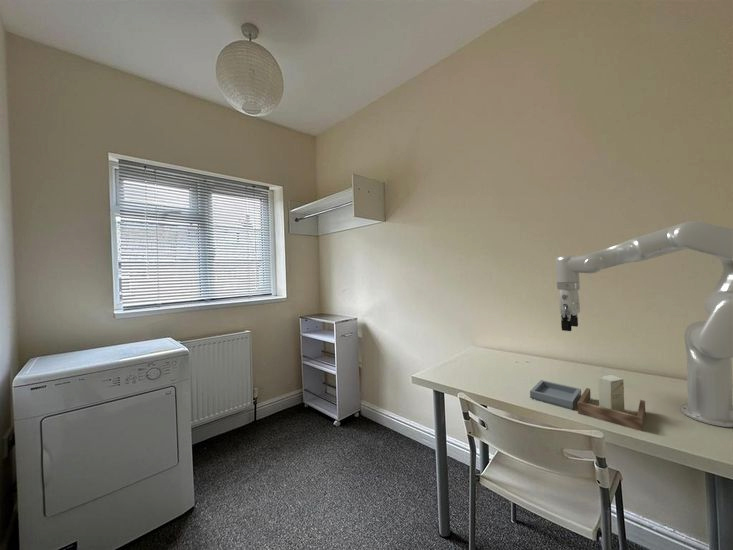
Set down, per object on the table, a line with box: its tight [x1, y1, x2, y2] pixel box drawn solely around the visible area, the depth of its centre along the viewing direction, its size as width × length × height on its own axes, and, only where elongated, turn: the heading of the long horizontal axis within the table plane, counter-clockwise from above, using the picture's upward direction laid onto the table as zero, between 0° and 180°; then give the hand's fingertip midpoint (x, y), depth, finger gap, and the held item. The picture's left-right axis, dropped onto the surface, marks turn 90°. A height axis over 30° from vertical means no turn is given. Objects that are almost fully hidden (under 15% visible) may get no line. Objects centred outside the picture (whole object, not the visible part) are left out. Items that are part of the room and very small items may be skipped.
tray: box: [529, 379, 582, 411], centre depth 113 cm, size 14×14×3 cm
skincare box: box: [597, 374, 626, 413], centre depth 101 cm, size 6×4×12 cm
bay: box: [577, 387, 646, 432], centre depth 100 cm, size 16×15×4 cm
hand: (570, 328), depth 116 cm, fingers open, 9 cm apart
